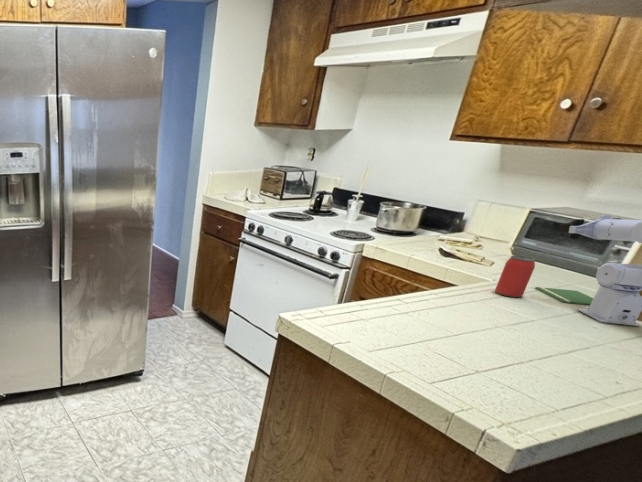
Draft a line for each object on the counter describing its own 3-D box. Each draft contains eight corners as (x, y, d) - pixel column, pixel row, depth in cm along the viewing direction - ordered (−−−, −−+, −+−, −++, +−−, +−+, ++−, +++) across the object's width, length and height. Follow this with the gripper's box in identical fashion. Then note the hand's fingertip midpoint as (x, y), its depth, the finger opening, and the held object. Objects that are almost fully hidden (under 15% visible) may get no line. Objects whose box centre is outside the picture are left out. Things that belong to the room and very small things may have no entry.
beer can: (510, 291, 151) (525, 255, 146) (527, 298, 145) (543, 261, 140) (489, 290, 151) (503, 254, 147) (504, 297, 145) (520, 260, 141)
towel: (608, 307, 139) (609, 305, 139) (563, 302, 142) (564, 300, 142) (576, 292, 152) (577, 290, 151) (535, 288, 154) (535, 286, 154)
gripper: (654, 214, 127) (604, 213, 140) (593, 216, 129) (549, 214, 142) (648, 240, 129) (599, 237, 142) (587, 241, 131) (545, 238, 144)
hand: (574, 227), depth 142 cm, fingers open, 7 cm apart
